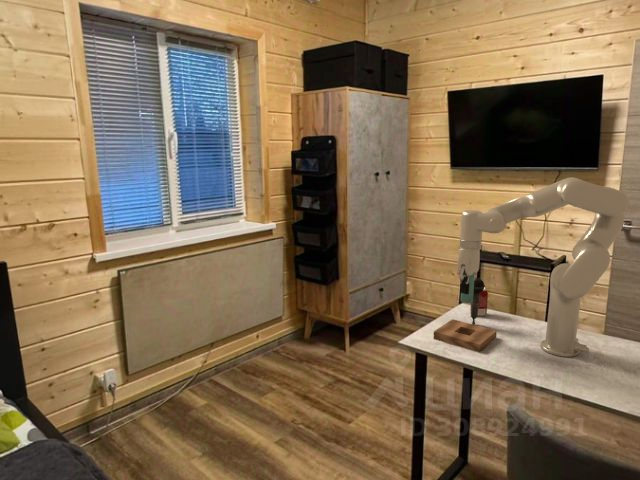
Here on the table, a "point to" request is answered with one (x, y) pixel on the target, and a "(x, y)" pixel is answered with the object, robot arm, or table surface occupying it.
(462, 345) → the socket board
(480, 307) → the soda can
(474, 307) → the microphone
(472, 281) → the peg
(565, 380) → the table surface
